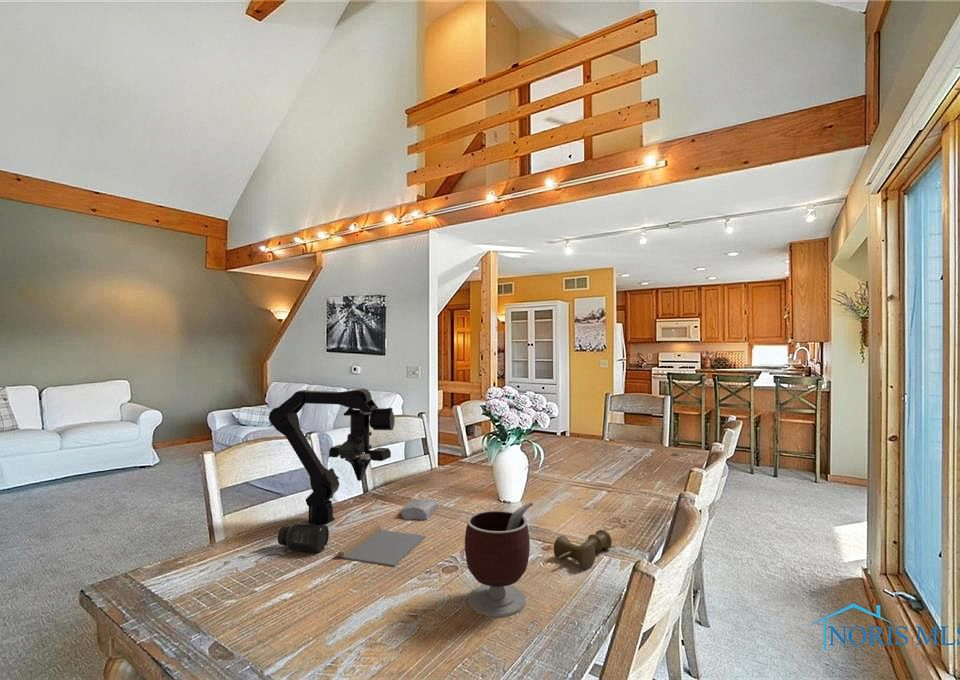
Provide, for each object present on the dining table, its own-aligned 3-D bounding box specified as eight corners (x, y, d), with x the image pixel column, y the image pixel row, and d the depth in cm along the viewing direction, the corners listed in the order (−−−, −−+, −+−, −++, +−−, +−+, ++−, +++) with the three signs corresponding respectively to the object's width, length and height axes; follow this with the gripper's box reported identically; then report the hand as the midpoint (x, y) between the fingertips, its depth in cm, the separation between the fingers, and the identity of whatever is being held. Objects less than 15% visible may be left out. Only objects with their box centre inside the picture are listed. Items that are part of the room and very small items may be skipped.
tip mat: (338, 557, 122) (338, 551, 122) (375, 530, 140) (375, 525, 140) (394, 566, 118) (394, 560, 118) (425, 537, 136) (425, 531, 136)
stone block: (399, 525, 150) (429, 520, 148) (397, 509, 150) (427, 505, 149) (412, 513, 162) (440, 509, 160) (409, 499, 162) (437, 495, 160)
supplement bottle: (328, 519, 129) (287, 516, 131) (316, 533, 123) (273, 530, 125) (330, 542, 130) (290, 539, 132) (318, 558, 124) (276, 554, 126)
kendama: (620, 555, 126) (573, 577, 112) (590, 545, 133) (542, 564, 120) (620, 532, 126) (573, 551, 113) (590, 523, 133) (542, 540, 120)
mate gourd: (480, 625, 93) (480, 522, 93) (455, 592, 106) (455, 501, 106) (548, 608, 99) (548, 512, 99) (517, 578, 112) (517, 493, 112)
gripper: (317, 432, 142) (317, 485, 142) (373, 436, 137) (373, 490, 136) (339, 426, 153) (339, 475, 153) (391, 429, 147) (391, 480, 147)
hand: (359, 480), depth 147 cm, fingers closed
